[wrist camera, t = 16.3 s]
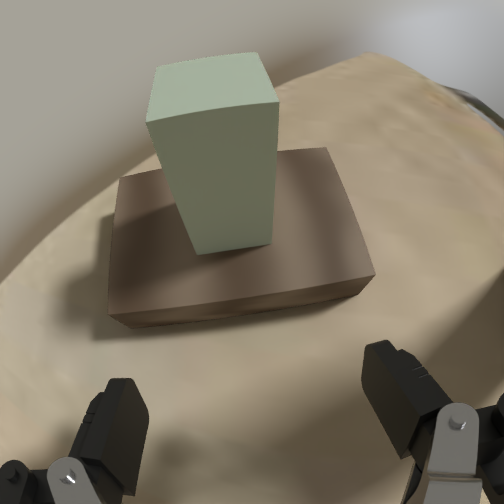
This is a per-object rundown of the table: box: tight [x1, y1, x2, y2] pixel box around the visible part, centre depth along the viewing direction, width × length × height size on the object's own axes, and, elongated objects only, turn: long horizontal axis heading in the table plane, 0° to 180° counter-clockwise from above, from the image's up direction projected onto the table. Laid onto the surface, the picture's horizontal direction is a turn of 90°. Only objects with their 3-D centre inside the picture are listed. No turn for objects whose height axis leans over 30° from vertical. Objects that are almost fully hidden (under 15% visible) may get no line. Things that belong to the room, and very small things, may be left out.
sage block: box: [146, 52, 279, 255], centre depth 16 cm, size 5×5×11 cm
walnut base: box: [108, 147, 376, 328], centre depth 22 cm, size 18×12×4 cm, turn 99°
